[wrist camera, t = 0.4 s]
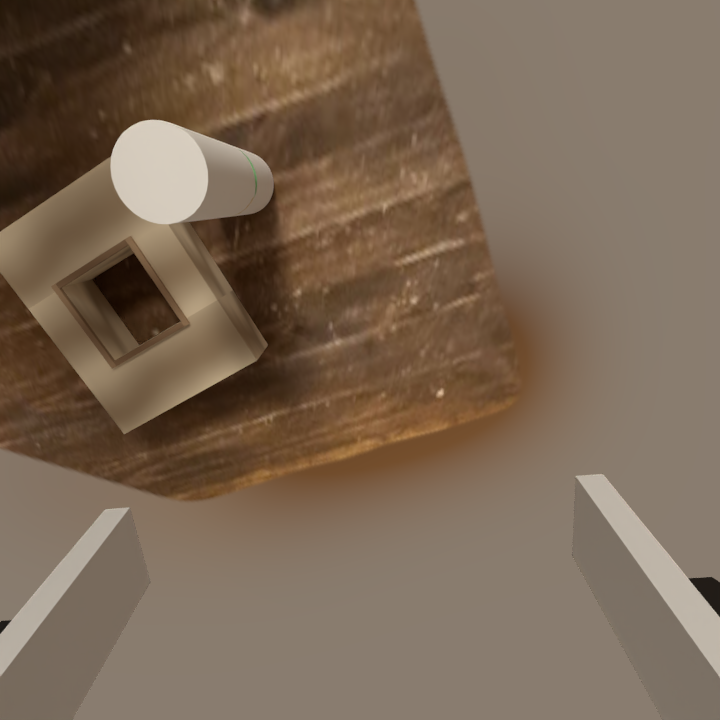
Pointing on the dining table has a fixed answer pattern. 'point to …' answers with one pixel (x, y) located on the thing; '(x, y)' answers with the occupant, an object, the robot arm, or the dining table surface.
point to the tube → (186, 175)
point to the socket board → (99, 320)
